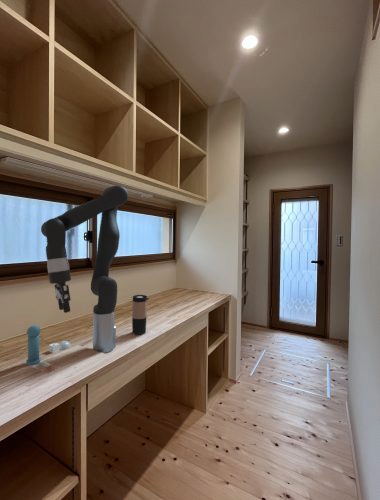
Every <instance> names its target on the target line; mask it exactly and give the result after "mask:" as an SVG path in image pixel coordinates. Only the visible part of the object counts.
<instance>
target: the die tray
mask: <svg viewBox="0 0 380 500" xmlns="http://www.w3.org/2000/svg"><path fill="white" fill-rule="evenodd" d="M71 347H72V345H71V343H70V342H69V341H67V340H62V341H61V342H54V343H50V344H48V352H49V353H52V354H54V353H57V352H59V351H65V350H68V349H71Z"/></svg>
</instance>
